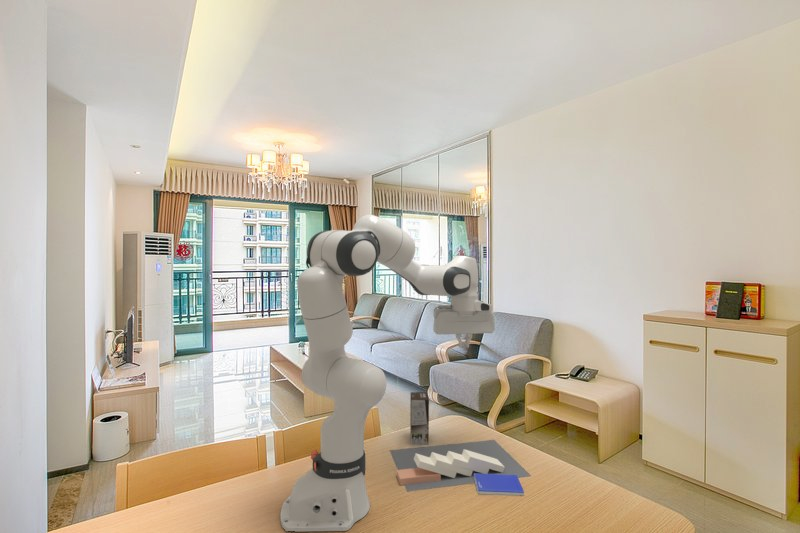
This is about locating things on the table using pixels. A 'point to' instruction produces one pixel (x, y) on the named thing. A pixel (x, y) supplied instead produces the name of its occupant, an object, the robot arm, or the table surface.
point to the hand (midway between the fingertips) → (463, 347)
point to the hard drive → (498, 484)
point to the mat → (487, 448)
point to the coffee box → (419, 418)
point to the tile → (416, 476)
